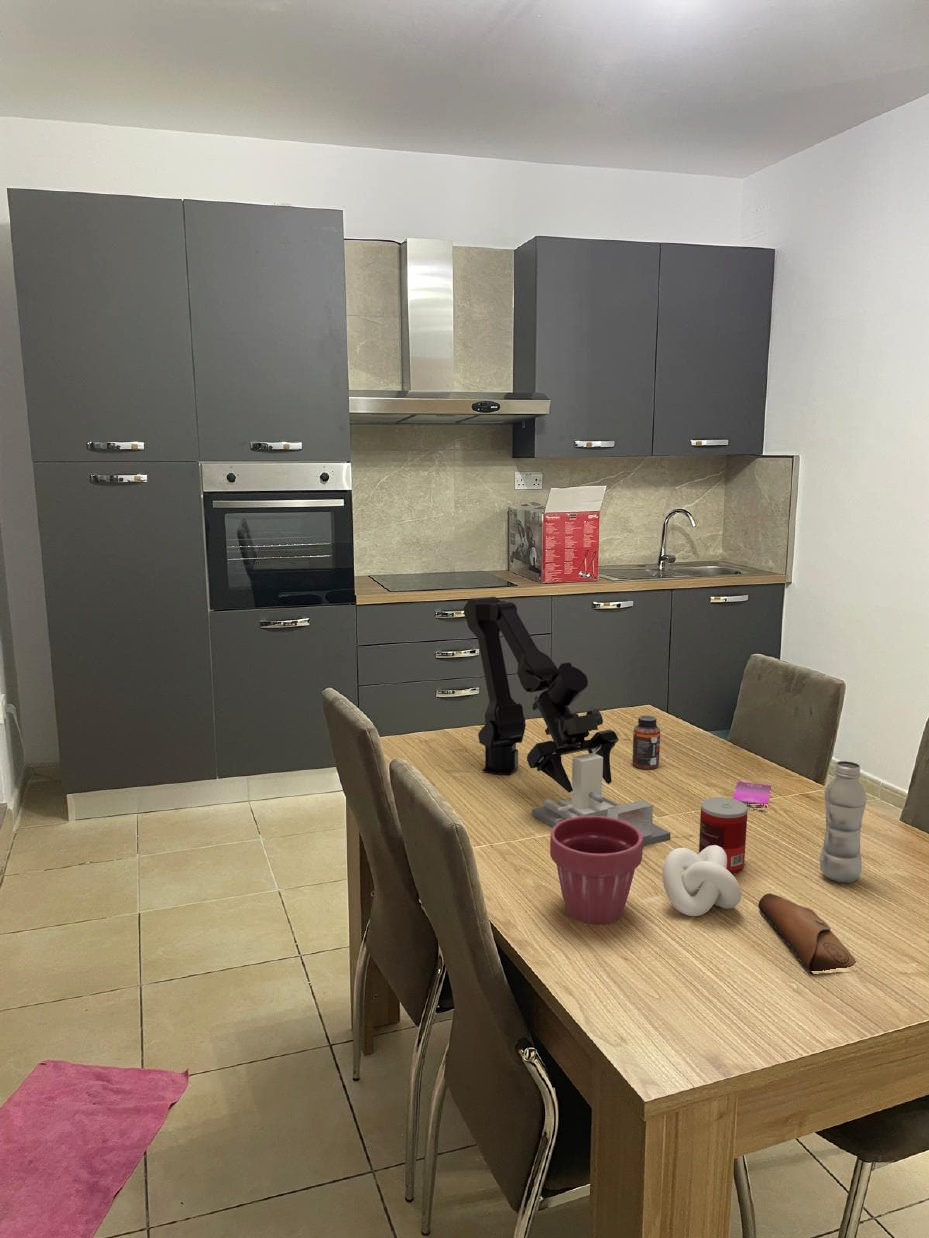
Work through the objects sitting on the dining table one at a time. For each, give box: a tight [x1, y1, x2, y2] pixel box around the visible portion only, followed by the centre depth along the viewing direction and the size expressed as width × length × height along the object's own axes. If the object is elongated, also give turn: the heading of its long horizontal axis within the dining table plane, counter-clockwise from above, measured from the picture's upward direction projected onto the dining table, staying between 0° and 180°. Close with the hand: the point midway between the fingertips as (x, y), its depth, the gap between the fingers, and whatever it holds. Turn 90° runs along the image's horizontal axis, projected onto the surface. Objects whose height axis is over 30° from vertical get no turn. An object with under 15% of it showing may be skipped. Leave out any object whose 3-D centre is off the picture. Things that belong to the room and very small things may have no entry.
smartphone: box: [732, 781, 773, 812], centre depth 190 cm, size 7×15×1 cm, turn 158°
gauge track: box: [531, 796, 671, 847], centre depth 175 cm, size 22×16×2 cm
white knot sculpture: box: [662, 845, 742, 917], centre depth 144 cm, size 11×12×9 cm
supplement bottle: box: [632, 715, 661, 770], centre depth 207 cm, size 6×6×11 cm
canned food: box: [698, 796, 748, 875], centre depth 158 cm, size 8×8×11 cm
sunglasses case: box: [757, 892, 857, 973], centre depth 135 cm, size 18×7×7 cm
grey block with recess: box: [607, 799, 654, 838], centre depth 167 cm, size 3×8×6 cm, turn 119°
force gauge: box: [558, 753, 612, 817], centre depth 176 cm, size 8×10×11 cm
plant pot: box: [549, 816, 644, 925], centre depth 142 cm, size 14×14×13 cm
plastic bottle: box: [819, 760, 868, 884], centre depth 152 cm, size 6×7×20 cm
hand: (590, 787), depth 176 cm, fingers open, 9 cm apart
